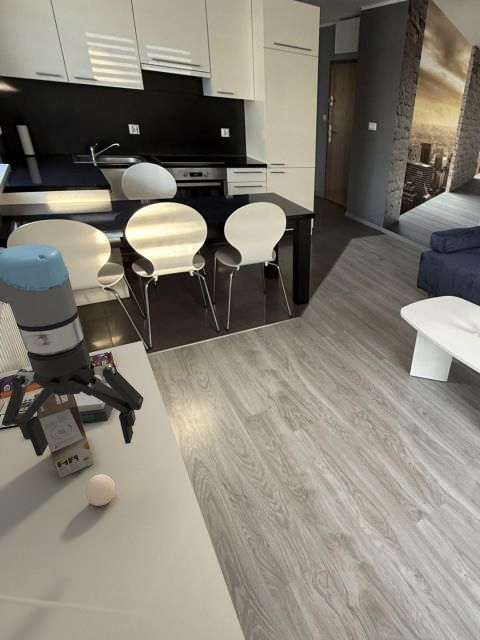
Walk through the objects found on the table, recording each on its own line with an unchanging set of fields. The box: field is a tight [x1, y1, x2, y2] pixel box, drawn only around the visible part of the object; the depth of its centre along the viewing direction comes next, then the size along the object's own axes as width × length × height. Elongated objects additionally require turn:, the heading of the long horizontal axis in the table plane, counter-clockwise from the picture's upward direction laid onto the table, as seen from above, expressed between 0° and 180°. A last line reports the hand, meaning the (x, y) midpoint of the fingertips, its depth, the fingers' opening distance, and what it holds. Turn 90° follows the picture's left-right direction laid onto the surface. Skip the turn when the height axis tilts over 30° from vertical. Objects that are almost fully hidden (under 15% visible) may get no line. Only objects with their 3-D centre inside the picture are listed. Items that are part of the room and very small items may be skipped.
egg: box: [84, 473, 116, 507], centre depth 77 cm, size 5×5×7 cm
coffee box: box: [33, 392, 94, 479], centre depth 83 cm, size 9×6×16 cm
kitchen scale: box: [74, 378, 114, 424], centre depth 99 cm, size 14×12×5 cm
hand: (87, 444), depth 71 cm, fingers open, 13 cm apart
